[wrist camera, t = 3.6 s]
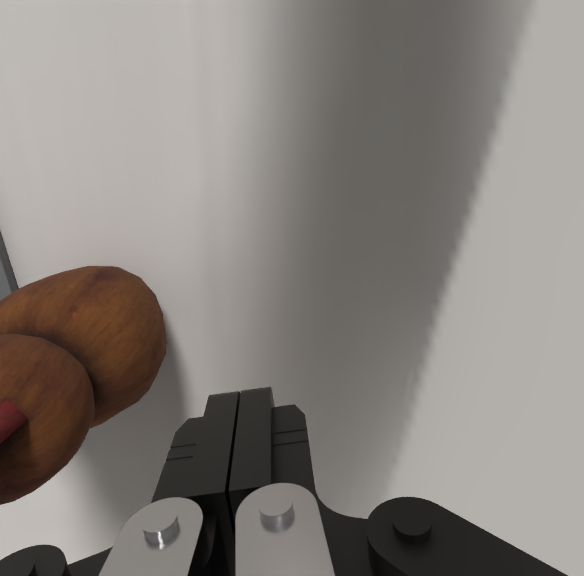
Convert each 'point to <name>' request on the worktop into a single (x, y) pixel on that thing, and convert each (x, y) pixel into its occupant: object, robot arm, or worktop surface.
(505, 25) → the worktop surface
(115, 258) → the worktop surface
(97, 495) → the worktop surface
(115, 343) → the wooden figurine
